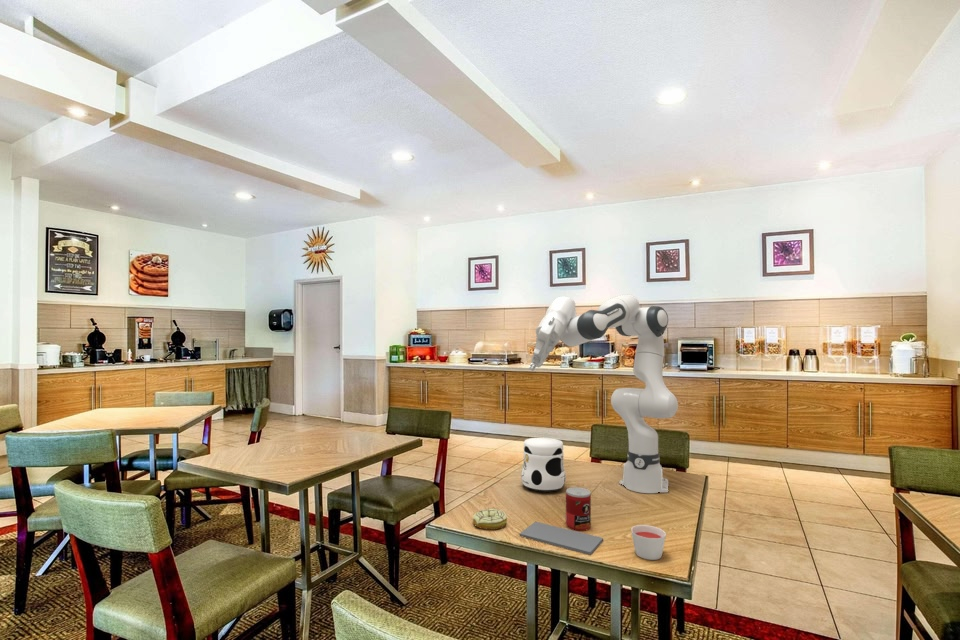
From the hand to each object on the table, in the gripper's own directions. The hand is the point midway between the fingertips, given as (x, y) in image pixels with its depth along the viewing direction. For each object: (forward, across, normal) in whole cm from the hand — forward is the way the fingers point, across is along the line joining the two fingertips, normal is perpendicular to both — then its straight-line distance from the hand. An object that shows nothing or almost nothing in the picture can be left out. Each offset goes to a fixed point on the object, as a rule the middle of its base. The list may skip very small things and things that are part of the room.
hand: (533, 361), depth 158 cm
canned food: (+34, +24, -34) cm, 54 cm away
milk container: (+17, +55, -20) cm, 61 cm away
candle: (+37, +8, -52) cm, 64 cm away
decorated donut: (+46, +26, -9) cm, 54 cm away
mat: (+42, +17, -30) cm, 54 cm away
